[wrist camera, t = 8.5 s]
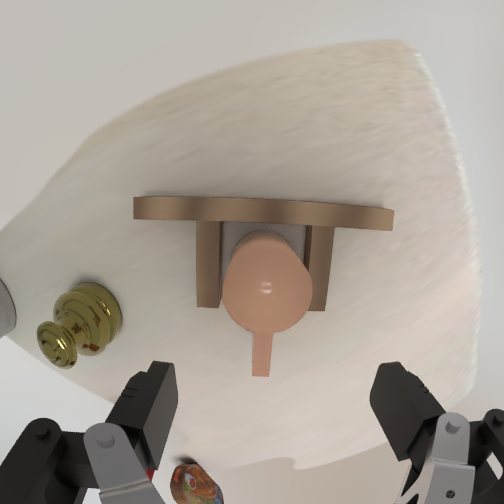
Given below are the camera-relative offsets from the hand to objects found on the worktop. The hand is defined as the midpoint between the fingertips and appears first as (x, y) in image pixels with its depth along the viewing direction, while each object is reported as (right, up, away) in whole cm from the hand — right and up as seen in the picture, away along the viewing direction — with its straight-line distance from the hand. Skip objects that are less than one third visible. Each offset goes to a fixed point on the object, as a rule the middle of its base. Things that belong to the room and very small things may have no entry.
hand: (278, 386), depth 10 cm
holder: (0, +4, +17) cm, 18 cm away
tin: (-10, -34, +26) cm, 43 cm away
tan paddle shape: (0, +2, +18) cm, 18 cm away
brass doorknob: (-19, -2, +19) cm, 27 cm away
